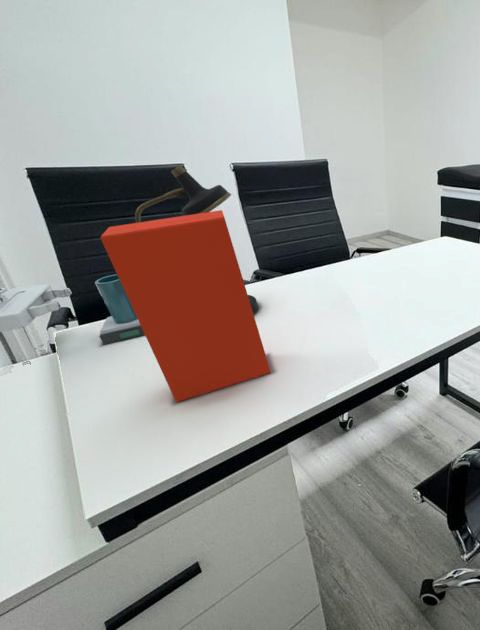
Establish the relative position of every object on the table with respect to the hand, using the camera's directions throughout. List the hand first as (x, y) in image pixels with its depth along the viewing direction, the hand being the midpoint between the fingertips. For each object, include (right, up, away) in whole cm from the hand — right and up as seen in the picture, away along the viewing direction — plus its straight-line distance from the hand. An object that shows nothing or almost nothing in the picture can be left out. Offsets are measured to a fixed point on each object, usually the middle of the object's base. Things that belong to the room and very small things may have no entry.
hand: (64, 298), depth 92 cm
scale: (+10, -8, +10) cm, 16 cm away
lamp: (+30, -4, +14) cm, 34 cm away
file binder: (+45, -17, -13) cm, 50 cm away
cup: (+9, -5, +8) cm, 13 cm away
